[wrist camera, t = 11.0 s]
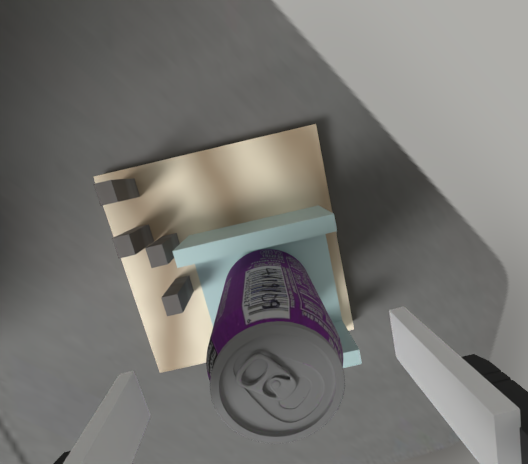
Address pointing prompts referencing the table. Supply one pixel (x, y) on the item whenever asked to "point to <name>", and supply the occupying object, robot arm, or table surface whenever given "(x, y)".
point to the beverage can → (274, 351)
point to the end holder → (270, 237)
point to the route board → (206, 225)
